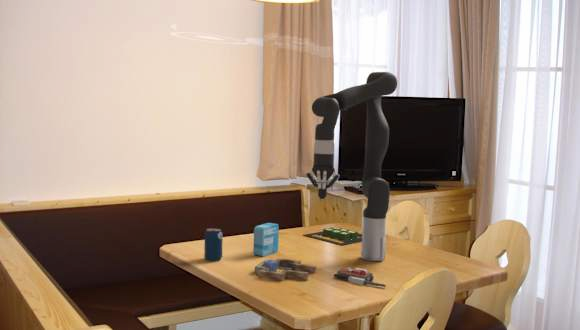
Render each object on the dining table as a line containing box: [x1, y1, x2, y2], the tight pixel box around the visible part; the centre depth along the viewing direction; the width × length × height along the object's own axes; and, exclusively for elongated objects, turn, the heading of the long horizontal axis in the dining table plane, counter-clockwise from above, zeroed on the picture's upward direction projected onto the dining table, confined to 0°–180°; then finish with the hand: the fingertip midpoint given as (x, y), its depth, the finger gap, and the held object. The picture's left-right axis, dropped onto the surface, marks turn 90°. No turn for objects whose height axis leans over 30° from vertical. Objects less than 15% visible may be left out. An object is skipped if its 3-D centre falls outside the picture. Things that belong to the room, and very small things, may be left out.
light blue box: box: [253, 222, 280, 257], centre depth 245 cm, size 12×4×12 cm, turn 149°
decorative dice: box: [263, 259, 278, 272], centre depth 219 cm, size 4×4×4 cm
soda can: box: [203, 227, 224, 262], centre depth 233 cm, size 7×7×12 cm
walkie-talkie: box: [333, 267, 387, 288], centre depth 211 cm, size 9×4×20 cm
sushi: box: [302, 226, 362, 247], centre depth 280 cm, size 25×25×4 cm
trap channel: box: [254, 257, 317, 282], centre depth 218 cm, size 20×20×2 cm
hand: (322, 198), depth 221 cm, fingers closed
